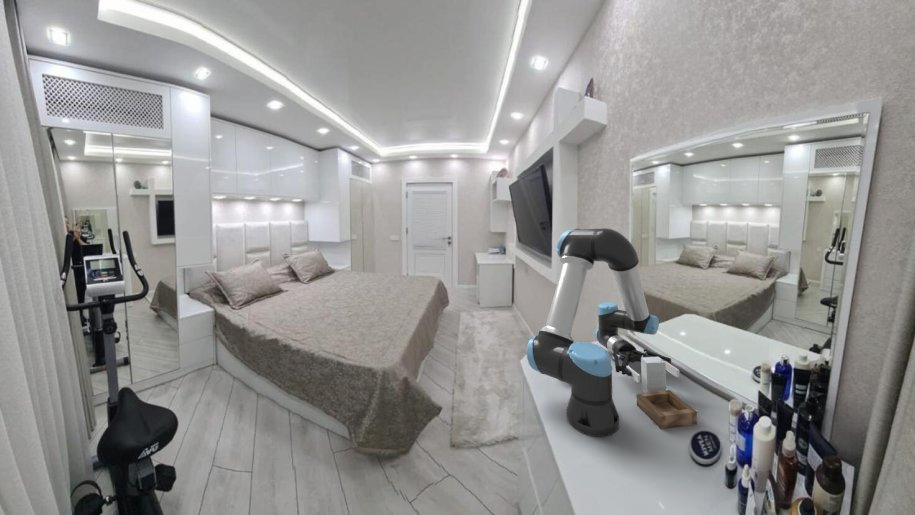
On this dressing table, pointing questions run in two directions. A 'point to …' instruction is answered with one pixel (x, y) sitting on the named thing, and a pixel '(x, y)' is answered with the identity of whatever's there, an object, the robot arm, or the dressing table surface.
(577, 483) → the dressing table surface
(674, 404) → the walnut square tray
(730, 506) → the dressing table surface
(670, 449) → the dressing table surface
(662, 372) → the skincare box
